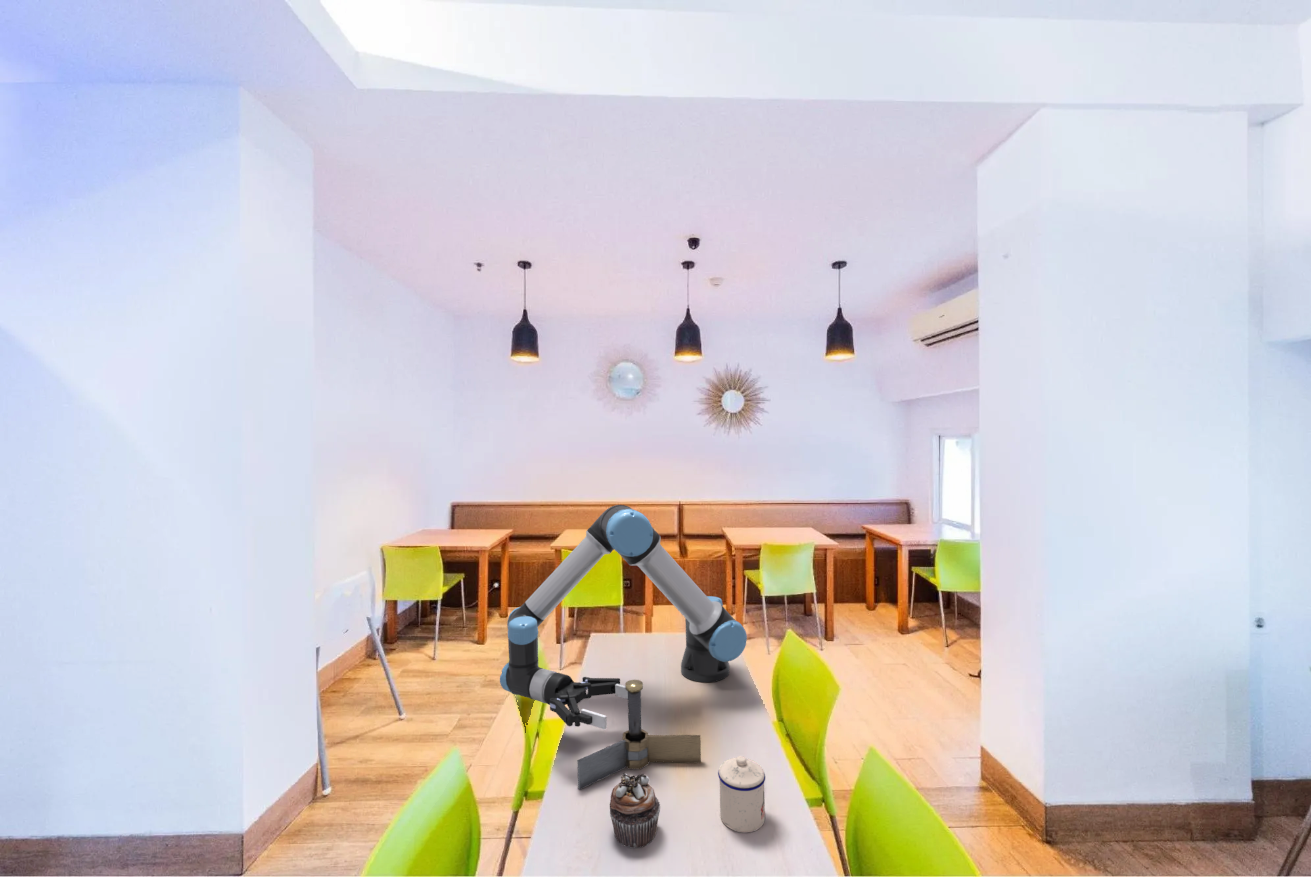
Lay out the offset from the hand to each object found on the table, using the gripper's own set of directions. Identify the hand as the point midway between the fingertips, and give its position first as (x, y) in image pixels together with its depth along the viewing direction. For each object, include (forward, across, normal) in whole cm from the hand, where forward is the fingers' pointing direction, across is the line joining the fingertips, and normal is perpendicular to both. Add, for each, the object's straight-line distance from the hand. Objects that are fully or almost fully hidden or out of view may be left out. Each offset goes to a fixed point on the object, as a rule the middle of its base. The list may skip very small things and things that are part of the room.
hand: (622, 708), depth 124 cm
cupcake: (+15, +18, -12) cm, 26 cm away
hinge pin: (+3, 0, -12) cm, 12 cm away
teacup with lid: (+30, +4, -12) cm, 32 cm away
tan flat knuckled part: (+8, -3, -12) cm, 15 cm away
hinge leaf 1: (+1, +5, -12) cm, 13 cm away
